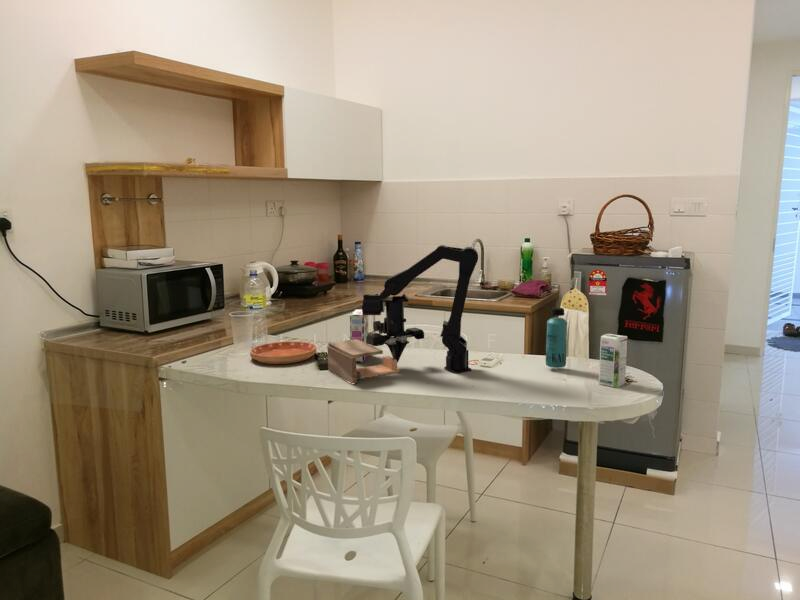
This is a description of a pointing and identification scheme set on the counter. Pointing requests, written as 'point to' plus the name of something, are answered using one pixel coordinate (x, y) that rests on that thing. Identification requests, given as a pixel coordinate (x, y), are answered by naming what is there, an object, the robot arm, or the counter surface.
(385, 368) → the wooden plank with block
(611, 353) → the syrup box
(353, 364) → the overhang shelf
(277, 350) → the saucer
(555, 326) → the beverage bottle
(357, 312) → the candy bar box
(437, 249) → the robot arm
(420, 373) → the counter surface
